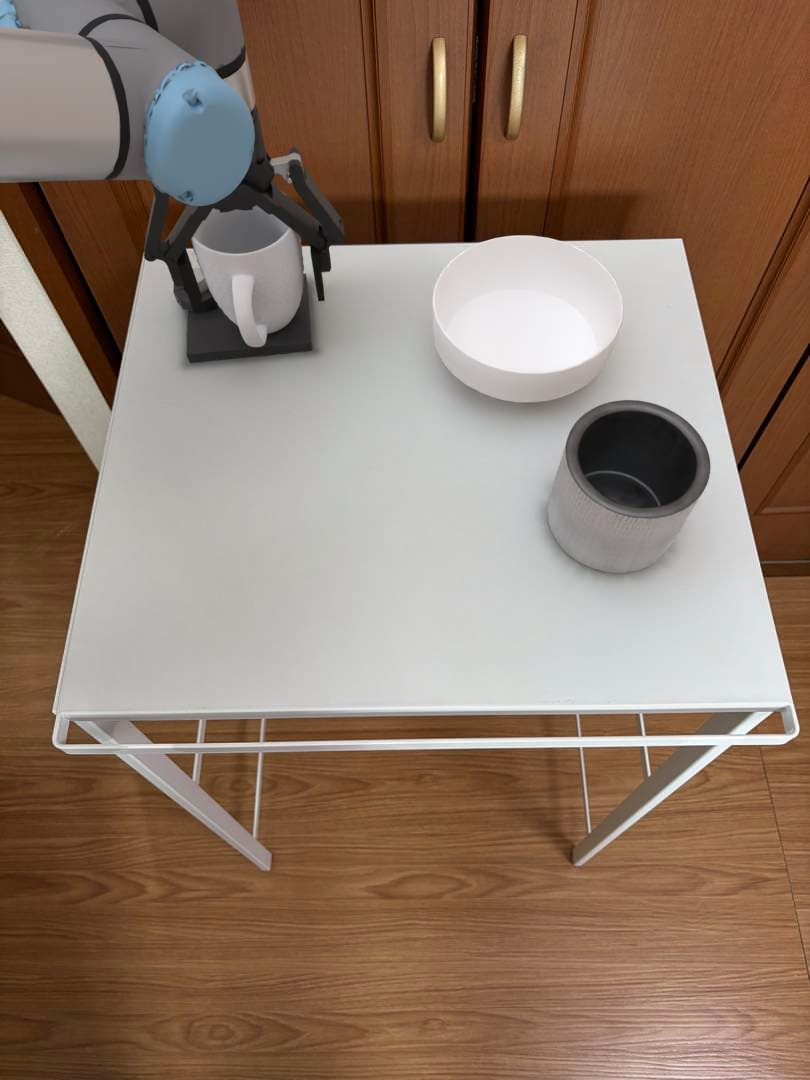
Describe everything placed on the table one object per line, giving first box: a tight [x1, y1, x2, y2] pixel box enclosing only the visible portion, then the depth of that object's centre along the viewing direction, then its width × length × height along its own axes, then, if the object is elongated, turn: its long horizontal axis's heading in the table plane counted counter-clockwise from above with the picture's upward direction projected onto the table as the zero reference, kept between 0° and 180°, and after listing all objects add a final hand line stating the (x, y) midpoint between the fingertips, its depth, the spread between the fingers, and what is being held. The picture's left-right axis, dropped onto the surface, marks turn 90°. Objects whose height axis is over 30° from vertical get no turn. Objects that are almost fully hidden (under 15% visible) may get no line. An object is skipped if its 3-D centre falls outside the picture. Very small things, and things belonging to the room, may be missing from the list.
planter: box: [546, 399, 711, 574], centre depth 69 cm, size 12×13×11 cm
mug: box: [190, 190, 305, 347], centre depth 79 cm, size 15×11×13 cm
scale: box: [172, 273, 314, 364], centre depth 86 cm, size 15×12×3 cm
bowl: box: [431, 235, 625, 403], centre depth 80 cm, size 20×20×8 cm
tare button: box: [192, 267, 208, 294], centre depth 86 cm, size 3×3×2 cm
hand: (259, 298), depth 83 cm, fingers open, 13 cm apart
